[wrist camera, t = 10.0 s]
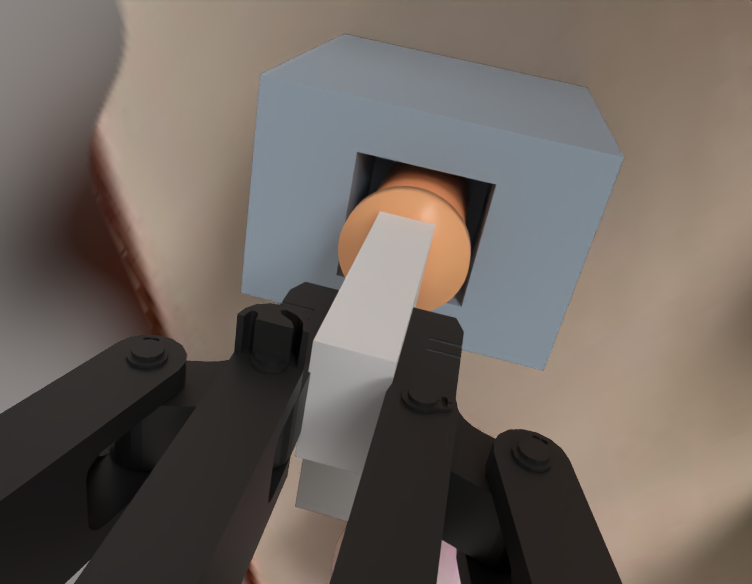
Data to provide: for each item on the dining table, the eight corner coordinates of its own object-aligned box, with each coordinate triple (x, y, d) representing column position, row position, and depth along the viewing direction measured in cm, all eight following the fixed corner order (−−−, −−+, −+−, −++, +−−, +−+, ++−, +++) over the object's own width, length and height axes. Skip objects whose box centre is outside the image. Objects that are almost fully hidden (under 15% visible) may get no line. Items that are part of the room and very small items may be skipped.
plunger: (383, 132, 21) (349, 178, 17) (491, 157, 21) (484, 211, 17) (364, 231, 23) (329, 296, 19) (464, 256, 23) (452, 328, 18)
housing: (344, 33, 27) (260, 74, 18) (587, 87, 26) (623, 157, 17) (320, 193, 30) (240, 292, 21) (535, 245, 29) (543, 370, 20)
